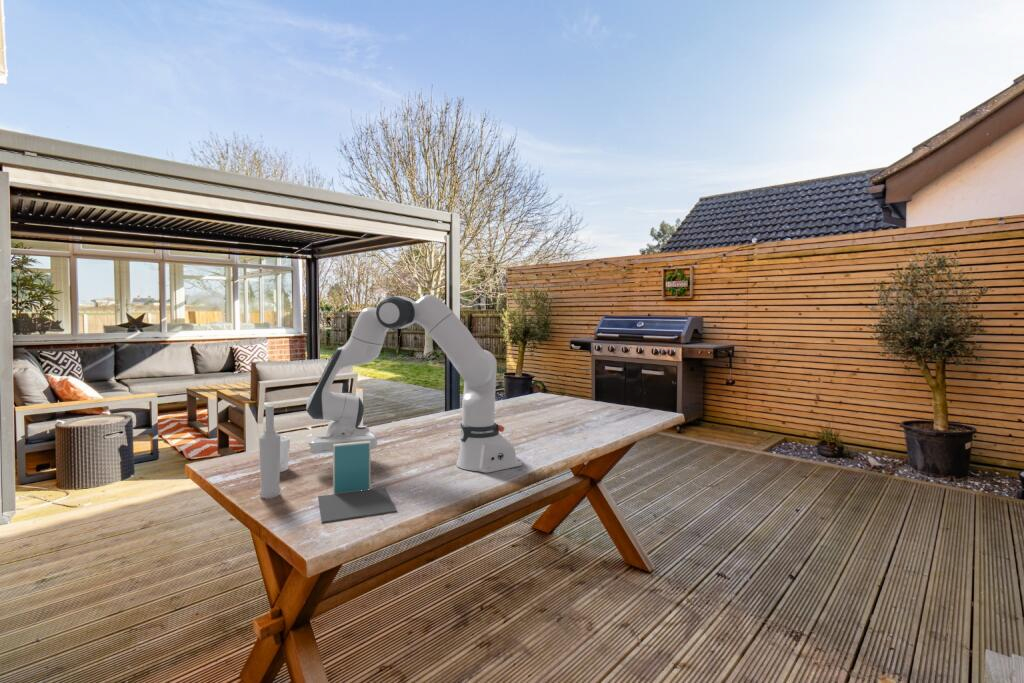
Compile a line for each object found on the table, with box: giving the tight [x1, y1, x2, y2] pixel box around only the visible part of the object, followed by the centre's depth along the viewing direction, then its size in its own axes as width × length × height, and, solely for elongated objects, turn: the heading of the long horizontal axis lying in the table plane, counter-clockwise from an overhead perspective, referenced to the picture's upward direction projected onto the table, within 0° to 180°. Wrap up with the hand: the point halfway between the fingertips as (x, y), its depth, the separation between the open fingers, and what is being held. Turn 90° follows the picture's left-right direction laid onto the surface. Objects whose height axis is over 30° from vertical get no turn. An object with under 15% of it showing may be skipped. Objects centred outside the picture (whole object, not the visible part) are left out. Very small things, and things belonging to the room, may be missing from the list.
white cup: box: [280, 435, 291, 473], centre depth 153 cm, size 8×8×10 cm
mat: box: [317, 487, 398, 524], centre depth 127 cm, size 18×18×1 cm
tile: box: [332, 441, 372, 494], centre depth 136 cm, size 10×2×14 cm, turn 115°
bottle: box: [258, 404, 281, 500], centre depth 131 cm, size 5×5×25 cm
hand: (346, 449), depth 147 cm, fingers closed
